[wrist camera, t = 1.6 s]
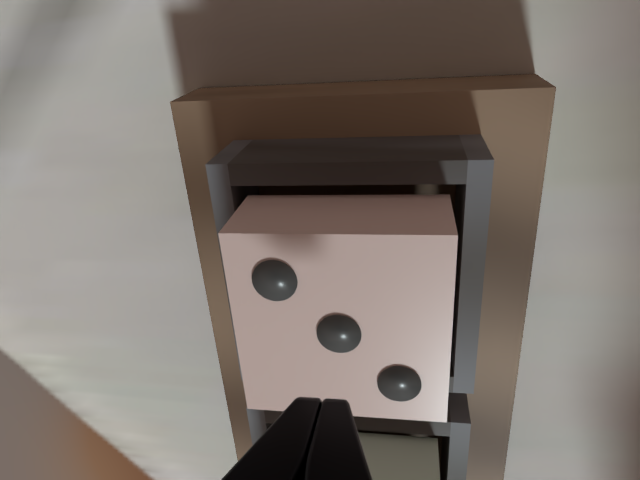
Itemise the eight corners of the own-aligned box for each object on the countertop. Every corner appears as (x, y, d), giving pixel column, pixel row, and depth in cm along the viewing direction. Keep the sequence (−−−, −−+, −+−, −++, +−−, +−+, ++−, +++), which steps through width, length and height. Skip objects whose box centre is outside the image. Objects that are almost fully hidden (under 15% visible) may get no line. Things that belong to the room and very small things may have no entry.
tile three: (441, 361, 12) (446, 424, 11) (269, 352, 13) (246, 410, 11) (449, 194, 11) (458, 236, 9) (247, 195, 11) (217, 234, 10)
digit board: (475, 592, 22) (488, 706, 19) (277, 568, 24) (254, 669, 20) (535, 73, 13) (584, 105, 9) (199, 87, 14) (130, 119, 11)
